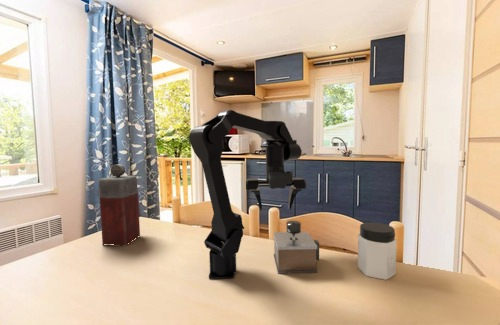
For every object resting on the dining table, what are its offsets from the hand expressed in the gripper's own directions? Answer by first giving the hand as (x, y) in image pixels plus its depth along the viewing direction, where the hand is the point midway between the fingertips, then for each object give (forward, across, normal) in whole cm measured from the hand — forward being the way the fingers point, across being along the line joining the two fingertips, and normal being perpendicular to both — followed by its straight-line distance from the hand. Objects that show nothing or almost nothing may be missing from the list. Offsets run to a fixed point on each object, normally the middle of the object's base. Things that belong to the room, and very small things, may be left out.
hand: (275, 209), depth 79 cm
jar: (+13, +25, -15) cm, 32 cm away
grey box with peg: (+13, +4, -10) cm, 17 cm away
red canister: (+13, -55, +11) cm, 58 cm away
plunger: (+13, +4, -10) cm, 17 cm away
